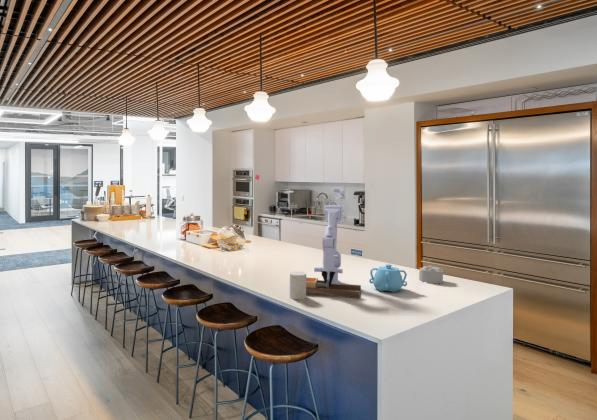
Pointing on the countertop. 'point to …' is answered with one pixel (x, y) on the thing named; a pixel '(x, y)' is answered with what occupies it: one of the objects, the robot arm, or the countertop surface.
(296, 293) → the cup
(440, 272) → the lumpy-topped squat cylinder
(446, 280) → the countertop surface
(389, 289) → the decorative pot
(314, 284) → the drawer
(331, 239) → the robot arm
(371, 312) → the countertop surface
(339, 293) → the bay
